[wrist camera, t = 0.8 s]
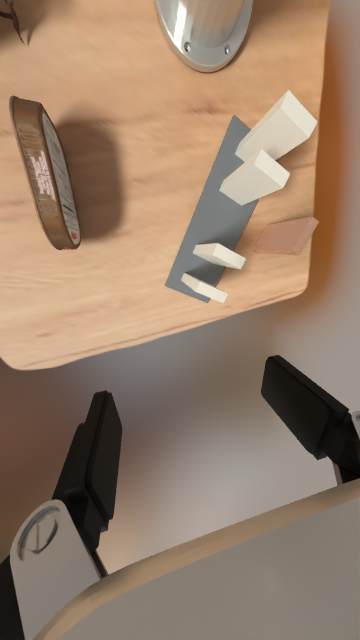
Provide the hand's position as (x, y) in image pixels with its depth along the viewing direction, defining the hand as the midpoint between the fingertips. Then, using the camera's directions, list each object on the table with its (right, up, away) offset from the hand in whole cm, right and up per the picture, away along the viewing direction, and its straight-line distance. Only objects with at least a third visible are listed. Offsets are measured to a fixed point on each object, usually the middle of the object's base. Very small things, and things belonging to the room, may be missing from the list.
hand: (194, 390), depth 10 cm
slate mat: (+6, +22, +22) cm, 31 cm away
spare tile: (+16, +21, +24) cm, 36 cm away
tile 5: (+11, +31, +18) cm, 38 cm away
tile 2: (+4, +17, +23) cm, 29 cm away
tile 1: (+2, +12, +24) cm, 27 cm away
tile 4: (+8, +26, +20) cm, 34 cm away
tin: (-18, +23, +16) cm, 33 cm away
